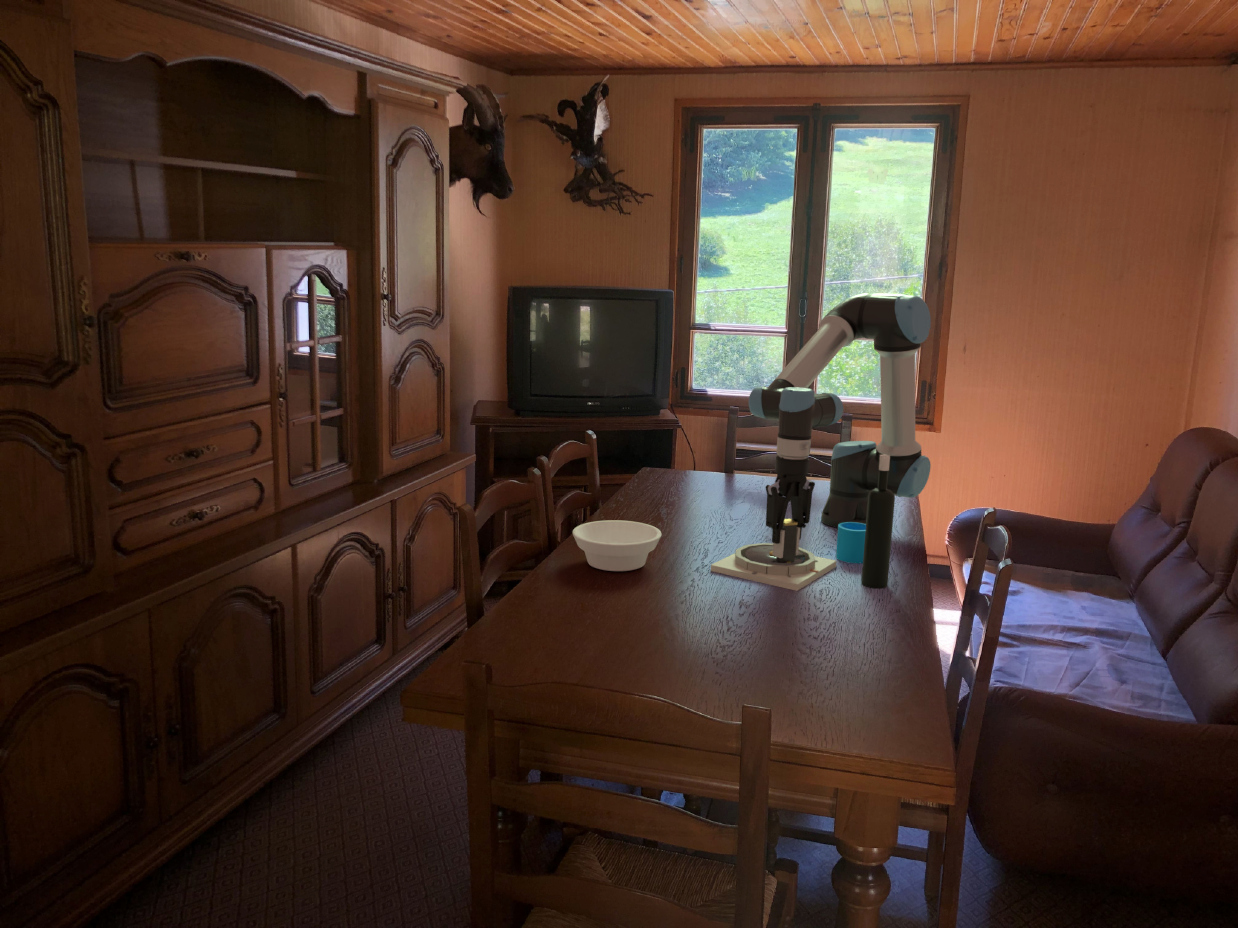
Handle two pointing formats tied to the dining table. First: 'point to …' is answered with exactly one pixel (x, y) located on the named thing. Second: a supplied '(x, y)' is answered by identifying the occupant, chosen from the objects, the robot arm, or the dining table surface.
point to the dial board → (774, 579)
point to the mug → (851, 542)
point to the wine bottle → (878, 530)
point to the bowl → (616, 543)
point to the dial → (789, 558)
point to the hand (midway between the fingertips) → (785, 554)
